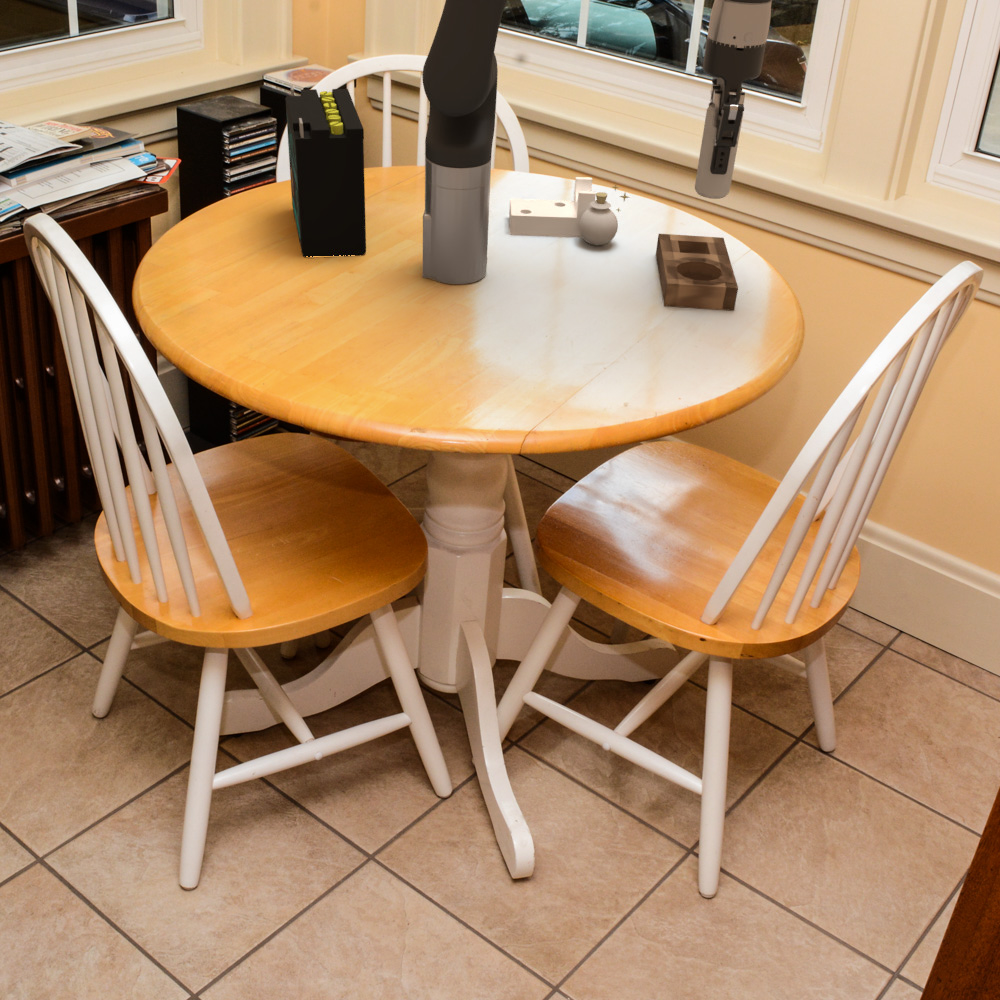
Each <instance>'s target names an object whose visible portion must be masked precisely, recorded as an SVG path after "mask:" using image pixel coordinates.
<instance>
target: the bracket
mask: <svg viewBox="0 0 1000 1000" xmlns="http://www.w3.org/2000/svg"><path fill="white" fill-rule="evenodd" d="M574 182H575V183H574V191H573V200H559V199H558V200H557V199H556V200H554V199H552V200H551V199H529V198H528V199H527V198H526V199H524V198H509V209H508V210H509V212H508V215H509V216H508V217H509V234H510V236H524V237H525V236H530V237H532V236H533V237H554V238H555V237H558V238H582V239H584V238H583V237H582V235H581V233H580V230H579V222H580V219H581V216H582V215H583V213H584V212H585V211H586V210H587V209H589V208H591V207H592V206H591V205H590V203H591V202H593V201H595V200H596V193H597V192H596V191H592V190H593V189H592V188H593V187H592V186H593V178H592V177H586V176H583V177H582V176H575V181H574Z"/></svg>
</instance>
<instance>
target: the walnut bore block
mask: <svg viewBox="0 0 1000 1000" xmlns="http://www.w3.org/2000/svg"><path fill="white" fill-rule="evenodd" d="M655 259H656V265H657V271H658V277H659V283H660V289H661V290H660V291H661V295H662V301H663V306H664V307H669V308H670V307H671V308H672V307H673V308H690V309H703V310H719V311H733V312H734V311H735V307H736V301H737V296H738V292H739V290H738V289H739V286H738V282H737V279H736V277H735V276H736V275H735V272H734V269H733V265H732V263H731V259H730V255H729V253H728V248H727V245H726V241H725V238H724V237H717V236H705V235H704V236H703V235H702V236H701V235H687V234H685V235H684V234H670V233H669V234H667V233H658V236H657V243H656V250H655Z"/></svg>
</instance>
